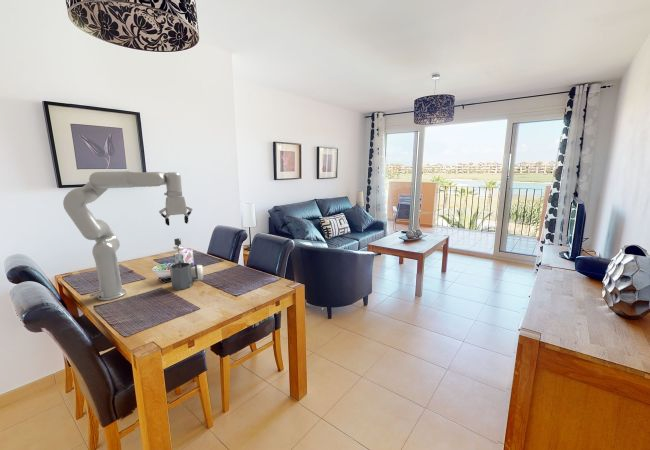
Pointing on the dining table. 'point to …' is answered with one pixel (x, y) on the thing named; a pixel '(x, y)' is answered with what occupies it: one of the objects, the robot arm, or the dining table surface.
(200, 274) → the mug
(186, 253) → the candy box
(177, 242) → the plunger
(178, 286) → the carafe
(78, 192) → the robot arm
